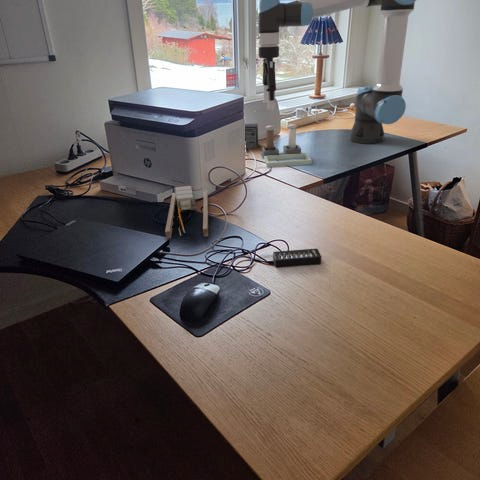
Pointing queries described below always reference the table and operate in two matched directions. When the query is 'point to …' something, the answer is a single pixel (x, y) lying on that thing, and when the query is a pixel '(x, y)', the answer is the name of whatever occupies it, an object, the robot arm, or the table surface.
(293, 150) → the fuse block
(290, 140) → the fuse
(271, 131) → the fuse
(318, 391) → the table surface
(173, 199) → the cable rest strips
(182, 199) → the electrical component
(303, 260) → the multiport hub
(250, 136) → the small box
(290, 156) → the parts tray
